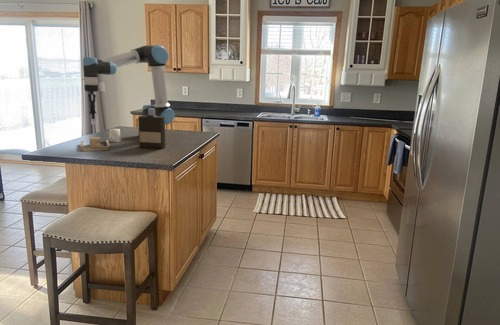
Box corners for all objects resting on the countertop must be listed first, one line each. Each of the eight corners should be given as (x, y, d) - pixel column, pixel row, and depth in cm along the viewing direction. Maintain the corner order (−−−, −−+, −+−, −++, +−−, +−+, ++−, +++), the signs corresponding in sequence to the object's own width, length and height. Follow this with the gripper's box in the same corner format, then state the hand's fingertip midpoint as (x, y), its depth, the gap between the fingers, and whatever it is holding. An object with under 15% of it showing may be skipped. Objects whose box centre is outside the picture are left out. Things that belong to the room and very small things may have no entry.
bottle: (142, 145, 236) (141, 107, 229) (166, 146, 235) (165, 108, 229) (138, 148, 228) (136, 108, 222) (163, 149, 228) (162, 109, 221)
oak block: (90, 144, 231) (89, 137, 230) (100, 144, 234) (99, 136, 232) (90, 146, 226) (89, 139, 225) (100, 146, 228) (99, 138, 227)
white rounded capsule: (109, 140, 247) (108, 128, 245) (120, 139, 250) (119, 128, 248) (110, 142, 241) (109, 130, 239) (121, 141, 244) (120, 130, 242)
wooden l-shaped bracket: (81, 144, 231) (80, 141, 230) (108, 143, 238) (108, 140, 237) (80, 151, 213) (80, 147, 213) (110, 149, 220) (110, 146, 219)
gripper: (84, 83, 215) (86, 122, 221) (84, 84, 204) (86, 125, 210) (97, 84, 218) (99, 122, 224) (98, 85, 207) (100, 125, 213)
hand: (93, 124), depth 217 cm, fingers closed
